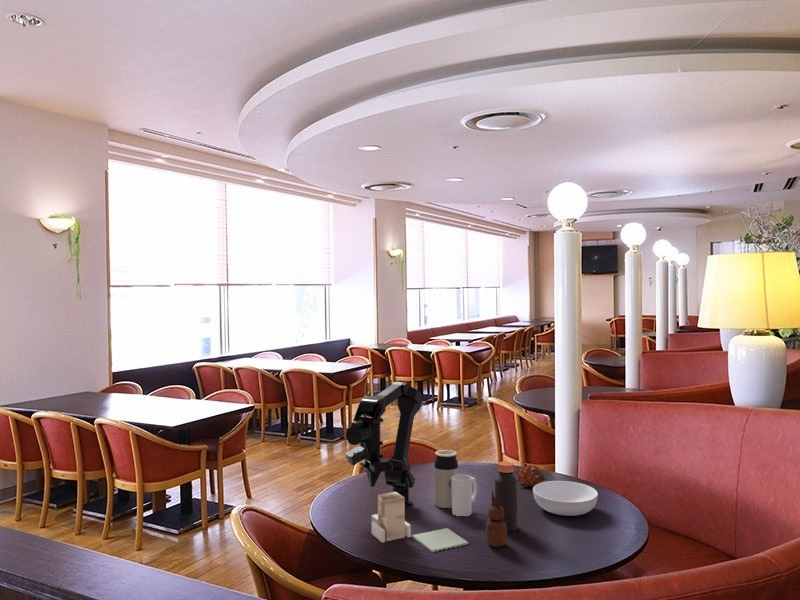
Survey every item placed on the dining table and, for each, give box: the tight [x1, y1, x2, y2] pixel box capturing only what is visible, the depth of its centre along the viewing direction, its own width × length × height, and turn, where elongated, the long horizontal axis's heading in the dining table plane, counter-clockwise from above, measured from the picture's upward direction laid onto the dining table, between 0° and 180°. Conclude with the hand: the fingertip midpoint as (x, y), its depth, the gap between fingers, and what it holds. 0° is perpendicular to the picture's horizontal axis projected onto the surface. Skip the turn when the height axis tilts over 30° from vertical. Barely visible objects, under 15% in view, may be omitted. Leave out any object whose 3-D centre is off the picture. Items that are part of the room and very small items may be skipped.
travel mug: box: [433, 449, 459, 509], centre depth 213 cm, size 8×8×18 cm
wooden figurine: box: [485, 491, 508, 548], centre depth 180 cm, size 7×6×15 cm
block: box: [377, 491, 406, 542], centre depth 187 cm, size 6×6×12 cm
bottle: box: [494, 460, 518, 533], centre depth 192 cm, size 7×7×20 cm
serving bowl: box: [532, 480, 599, 517], centre depth 206 cm, size 21×21×7 cm
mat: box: [411, 527, 469, 553], centre depth 183 cm, size 12×12×1 cm
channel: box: [371, 520, 412, 544], centre depth 187 cm, size 8×10×4 cm
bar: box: [371, 513, 378, 524], centre depth 194 cm, size 7×3×3 cm, turn 26°
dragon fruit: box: [516, 464, 546, 489], centre depth 232 cm, size 8×8×12 cm
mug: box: [451, 473, 478, 517], centre depth 206 cm, size 10×7×12 cm, turn 125°
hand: (372, 486), depth 200 cm, fingers closed
